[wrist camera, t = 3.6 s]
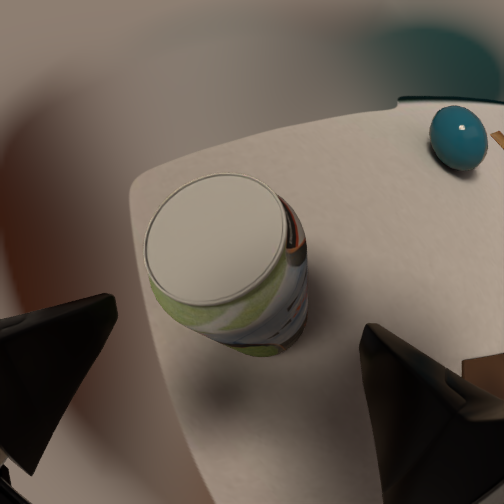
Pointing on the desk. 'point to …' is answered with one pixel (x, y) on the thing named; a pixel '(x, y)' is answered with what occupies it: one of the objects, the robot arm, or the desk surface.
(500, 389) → the coaster
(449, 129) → the ball
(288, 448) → the desk surface
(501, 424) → the robot arm
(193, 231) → the beverage can
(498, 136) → the board
